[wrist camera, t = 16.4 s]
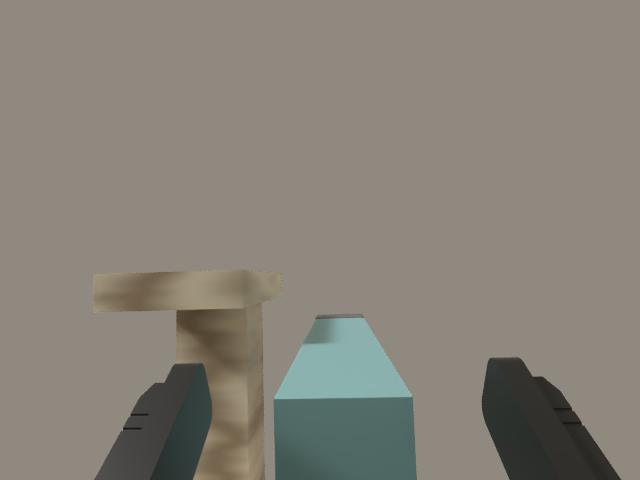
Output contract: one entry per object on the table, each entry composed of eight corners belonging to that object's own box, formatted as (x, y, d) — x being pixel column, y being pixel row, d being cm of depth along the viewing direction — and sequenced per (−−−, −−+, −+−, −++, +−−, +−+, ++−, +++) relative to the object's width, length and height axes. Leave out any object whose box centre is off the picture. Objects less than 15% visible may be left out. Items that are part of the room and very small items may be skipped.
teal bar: (274, 548, 11) (271, 397, 12) (318, 360, 37) (317, 314, 38) (421, 547, 11) (414, 395, 12) (363, 359, 37) (361, 313, 38)
